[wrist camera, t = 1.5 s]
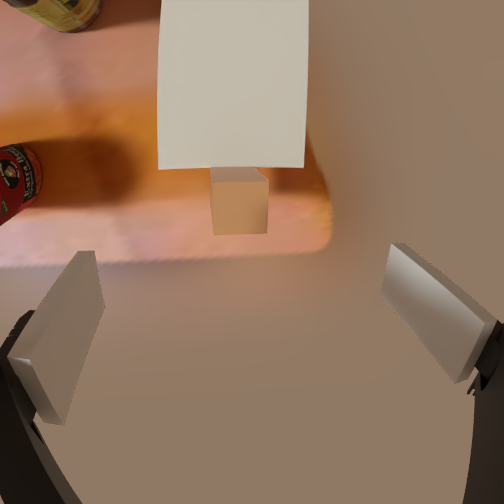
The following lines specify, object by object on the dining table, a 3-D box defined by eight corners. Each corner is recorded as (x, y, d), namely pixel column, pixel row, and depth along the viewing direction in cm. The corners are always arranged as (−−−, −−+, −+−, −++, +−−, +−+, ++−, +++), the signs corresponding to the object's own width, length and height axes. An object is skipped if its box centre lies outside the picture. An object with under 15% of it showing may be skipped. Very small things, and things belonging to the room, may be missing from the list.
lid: (167, -27, 19) (158, -70, 11) (301, -21, 20) (334, -57, 13) (163, 203, 28) (150, 237, 20) (294, 200, 29) (325, 231, 22)
